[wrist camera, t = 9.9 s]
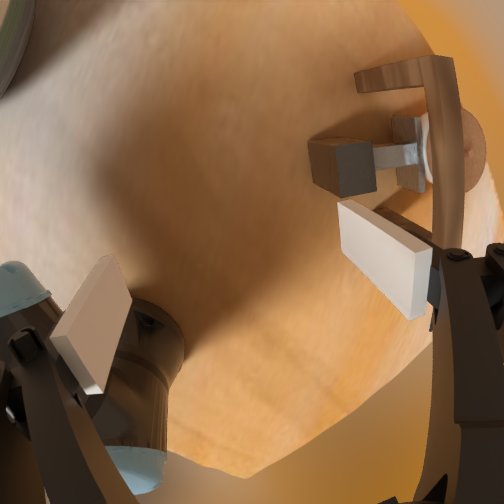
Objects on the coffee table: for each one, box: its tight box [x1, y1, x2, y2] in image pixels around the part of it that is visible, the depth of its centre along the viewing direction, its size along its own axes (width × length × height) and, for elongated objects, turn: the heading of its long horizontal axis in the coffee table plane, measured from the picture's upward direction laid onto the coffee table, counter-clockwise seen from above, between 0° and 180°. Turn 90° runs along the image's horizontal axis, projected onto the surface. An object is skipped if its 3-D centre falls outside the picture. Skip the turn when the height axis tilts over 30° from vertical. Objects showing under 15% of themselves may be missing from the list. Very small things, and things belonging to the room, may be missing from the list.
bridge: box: [354, 55, 465, 250], centre depth 28 cm, size 2×20×15 cm, turn 10°
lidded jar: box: [420, 108, 486, 193], centre depth 31 cm, size 11×11×9 cm
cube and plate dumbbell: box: [307, 116, 426, 198], centre depth 31 cm, size 12×9×8 cm
